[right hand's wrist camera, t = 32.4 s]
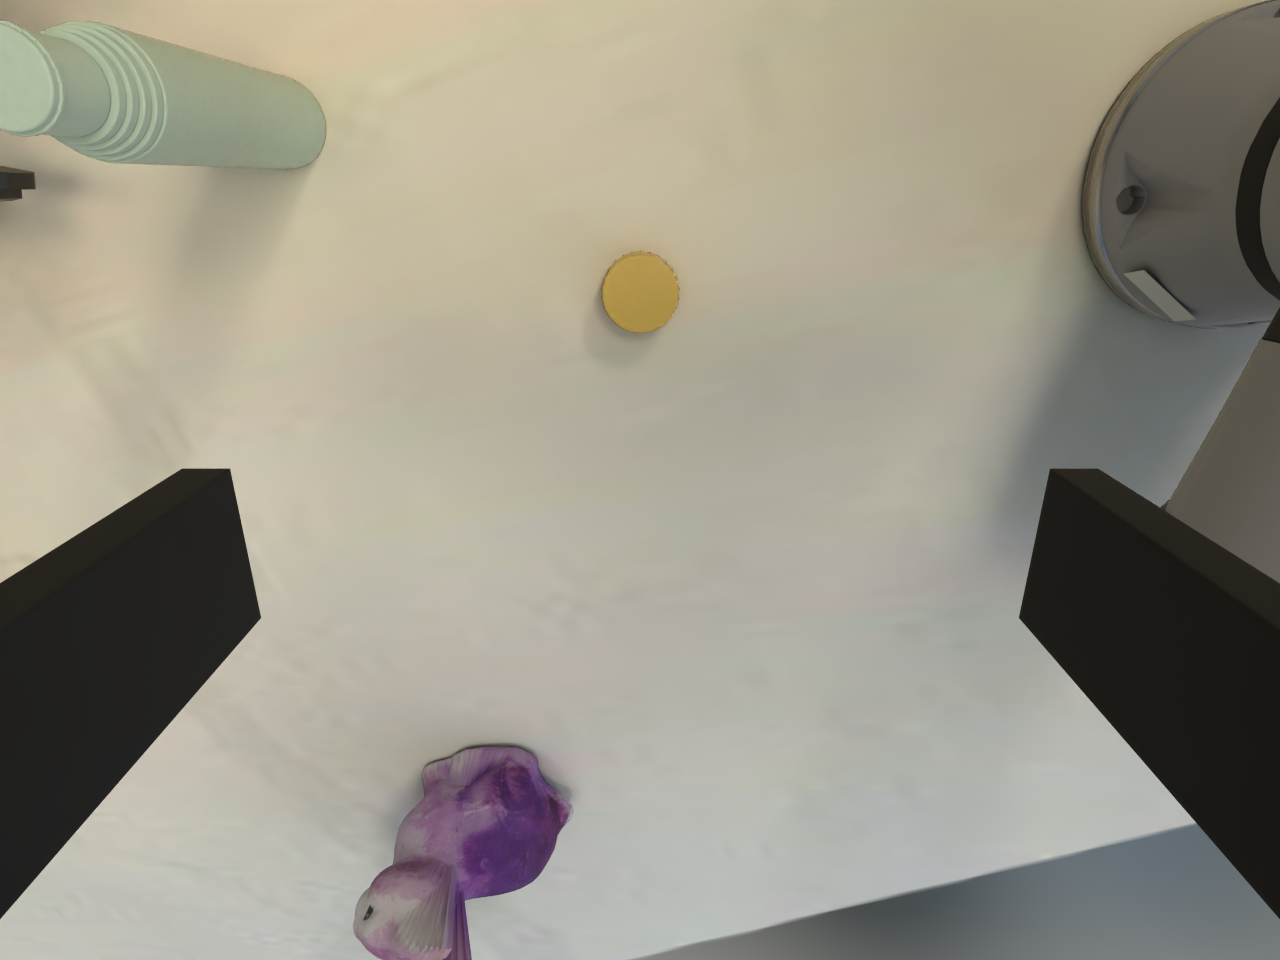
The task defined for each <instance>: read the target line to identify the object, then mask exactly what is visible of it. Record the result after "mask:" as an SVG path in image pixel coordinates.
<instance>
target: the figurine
mask: <svg viewBox="0 0 1280 960" xmlns="http://www.w3.org/2000/svg"><path fill="white" fill-rule="evenodd" d="M422 780H423V785H424V794H425V795H424V798H423V799H422V801H421V802H420V803H419V804H418V805H417V806H416V807H415V808H414V809H413V810H412V811H411V812H410V813H409V814H408V815H407V816H406V817H405V819H404V820H403V822H402V824H401V825H400V827H399V831H398V835H397V839H396V844H395V849H394V860H393V865H392V866H390V867H388V868H386V869H385V870H383V871H382V872H381V873H380V874H379V875H378V876H377V877H376V878H375V879H374V881H373V882H372V884H371V886H370V888H368V889H367V890H366V891H365V892H364V893H363V894H362V896H361V897H360V899H359V901H358V903H357V906H356V911H355V919H354V924H353V930H354V934H355V935H356V937H357V938H358V939H359V940H360V941H361V942H362V944H363V945H364V947H365V948H366V949H367V950H368V951H369V952H370V953H372V954H373V955H375V956H376V957H378V958H380V959H382V960H472V958H471V950H470V942H469V934H468V926H467V918H466V910H465V902H464V901H465V900H468V899H473V898H480V897H487V896H494V895H500V894H504V893H508V892H512V891H515V890H518V889H520V888H522V887H524V886H526V885H528V884H530V883H531V882H533V881H534V880H535V879H536V878H537V877H538V876H539V874H540V873H541V872H542V870H543V869H544V867H545V866H546V864H547V862H548V860H549V858H550V857H551V855H552V853H553V851H554V848H555V844H556V840H557V835H558V834H559V832H560V830H561V829H562V828H563V826H564V825H565V824H566V823H567V822H568V821H569V820H570V819H571V817H572V814H573V807H572V805H571V803H570V802H569V800H568V799H567V798H566V797H565V796H564V795H563V794H562V793H561V792H559V791H558V790H556V789H555V788H553V787H552V786H551V785H549V784H548V783H547V782H546V781H545V780H544V778H543V777H542V775H541V774H540V771H539V770H538V763H537V760H536V759H535V757H534V756H533V755H532V754H531V753H529V752H527V751H525V750H523V749H521V748H518V747H514V746H512V747H479V748H472V749H465V750H463V751H461V752H460V753H458V754H456V755H454V756H452V758H448V759H445V760H440V761H438V762H433V763H431V764H429V765H427V766H425V768H424V769H423V773H422Z"/></svg>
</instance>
